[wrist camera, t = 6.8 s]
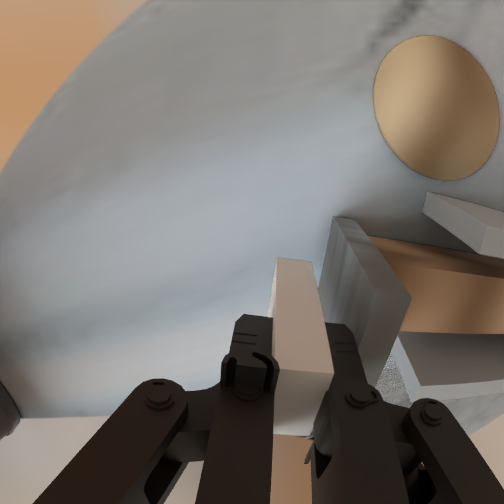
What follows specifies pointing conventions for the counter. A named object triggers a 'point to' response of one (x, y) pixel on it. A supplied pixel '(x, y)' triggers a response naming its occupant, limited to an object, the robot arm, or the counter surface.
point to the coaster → (436, 108)
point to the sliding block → (405, 291)
